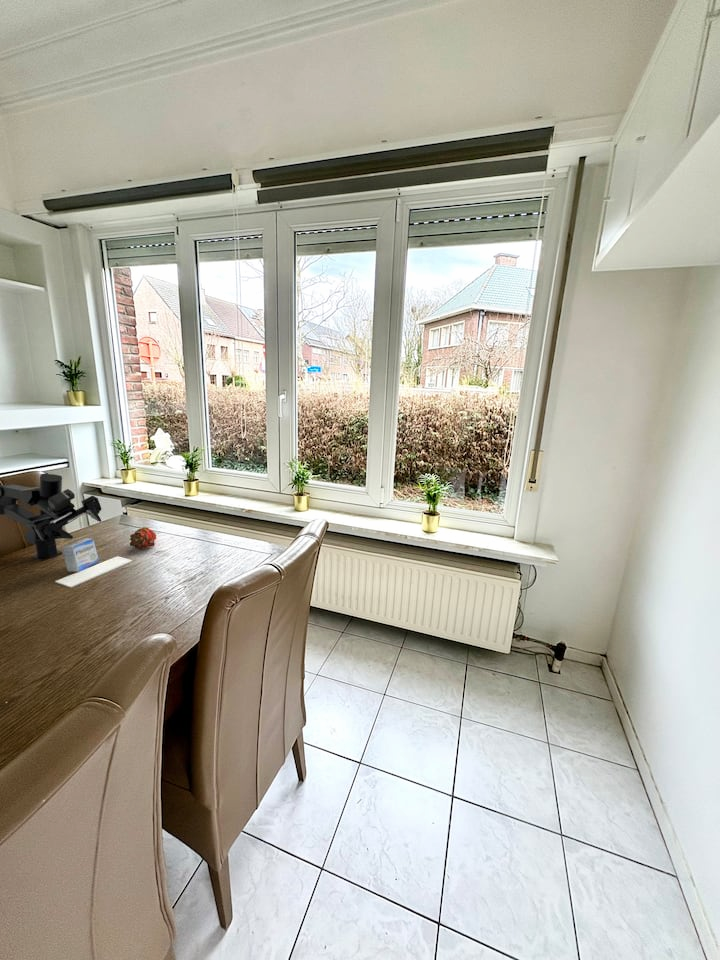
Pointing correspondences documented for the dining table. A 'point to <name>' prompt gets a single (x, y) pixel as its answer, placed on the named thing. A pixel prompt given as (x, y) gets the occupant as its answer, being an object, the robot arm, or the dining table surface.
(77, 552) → the medicine box
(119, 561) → the mat
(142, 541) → the dragon fruit
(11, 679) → the dining table surface
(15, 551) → the dining table surface
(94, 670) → the dining table surface
